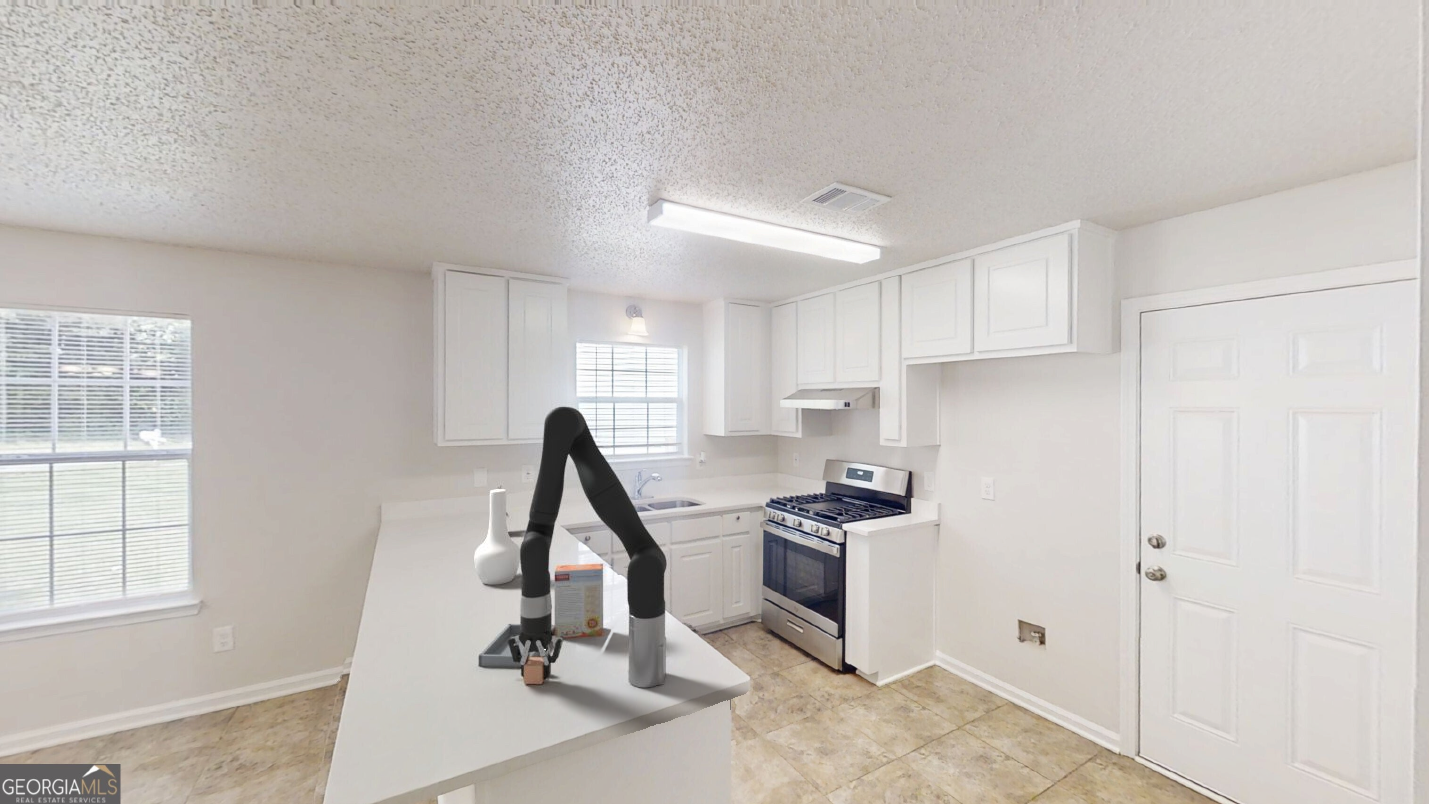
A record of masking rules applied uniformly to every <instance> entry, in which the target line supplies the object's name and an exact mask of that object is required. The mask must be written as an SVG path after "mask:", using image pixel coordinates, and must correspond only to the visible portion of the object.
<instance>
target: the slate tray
mask: <svg viewBox="0 0 1429 804" xmlns="http://www.w3.org/2000/svg"><path fill="white" fill-rule="evenodd" d="M551 630H552V633H553V636H555V624H552V627H551ZM520 632H521V630H520V623H508V624H507V626H506V627H505V628H504V629H503V630H502V631H501V632H500V633H499V634H498V635H497V636H496V637H495V638H494V639H493V640H492V641H491V642H490V643H489V644H488V645H487V646H486V647H485V648H484V649H483V650H482V651H481V653H480V654H479V655H478V667H494V668H495V667H500V668H501V667H502V668H505V667H507V668H521V664H520V663H519V662H514V661H513V658H512V654H511V651H510V648H509V644H508V640H509V639H510V638H511V637H512V636H513V635H515V636H519V635H520ZM518 645H519V648H520V652H521V655H522V654H523V651H524V646H523V645H522V643H521V642H520V640H519V644H518ZM530 657H541V656H540V653H539V652H535V651H534V652H530V655H529V658H530ZM529 658H528V660H529Z"/></svg>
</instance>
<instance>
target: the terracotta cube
mask: <svg viewBox="0 0 1429 804" xmlns="http://www.w3.org/2000/svg"><path fill="white" fill-rule="evenodd" d="M543 665H544V662H543V659H542V657H541V656H539V657H530V658H529V660H528V661H527V662H526V664H525V665H524V679H523V684H524V685H526V684H527V685H542V684H543V682H544V681H545V680H546V679H543Z"/></svg>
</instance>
